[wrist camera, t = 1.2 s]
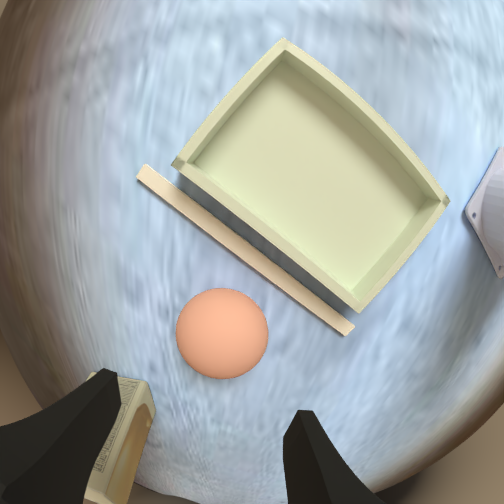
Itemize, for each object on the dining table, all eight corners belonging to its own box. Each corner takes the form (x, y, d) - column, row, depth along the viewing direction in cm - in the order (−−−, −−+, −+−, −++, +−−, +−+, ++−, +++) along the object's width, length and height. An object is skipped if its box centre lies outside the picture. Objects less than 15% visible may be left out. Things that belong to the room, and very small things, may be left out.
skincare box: (104, 399, 22) (59, 487, 10) (91, 369, 21) (31, 461, 9) (160, 411, 22) (126, 515, 10) (150, 380, 21) (103, 496, 9)
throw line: (353, 324, 19) (354, 326, 18) (344, 334, 19) (345, 336, 19) (146, 163, 16) (144, 163, 15) (137, 176, 16) (135, 176, 15)
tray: (432, 196, 16) (450, 201, 14) (348, 298, 18) (358, 313, 16) (279, 52, 13) (282, 37, 11) (181, 165, 16) (170, 165, 13)
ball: (283, 306, 18) (292, 357, 13) (234, 355, 19) (228, 409, 14) (217, 257, 17) (201, 296, 12) (172, 314, 19) (148, 362, 13)
